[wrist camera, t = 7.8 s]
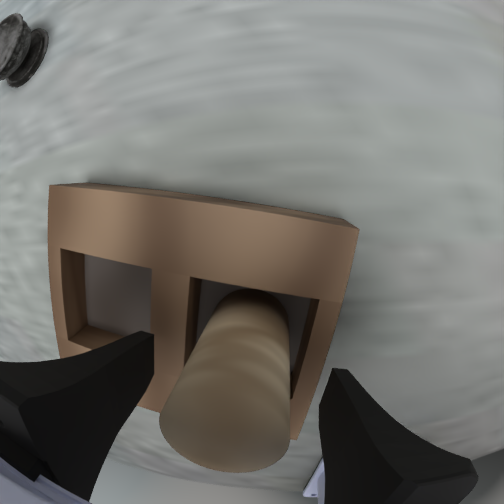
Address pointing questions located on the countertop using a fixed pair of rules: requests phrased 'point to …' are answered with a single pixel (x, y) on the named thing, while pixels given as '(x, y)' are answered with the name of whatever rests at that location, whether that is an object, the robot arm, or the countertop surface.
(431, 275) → the countertop surface
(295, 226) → the block
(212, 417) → the beech pin
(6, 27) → the grey chess piece
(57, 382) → the robot arm
